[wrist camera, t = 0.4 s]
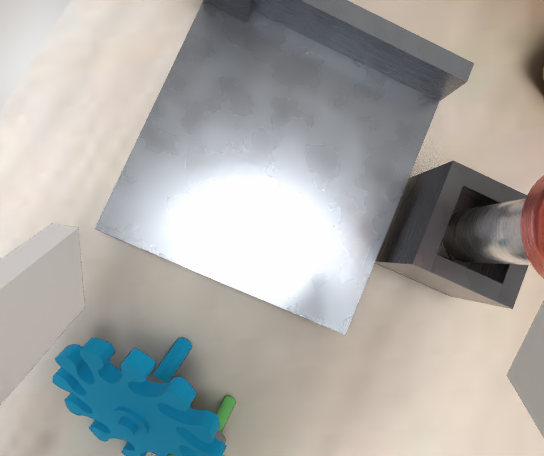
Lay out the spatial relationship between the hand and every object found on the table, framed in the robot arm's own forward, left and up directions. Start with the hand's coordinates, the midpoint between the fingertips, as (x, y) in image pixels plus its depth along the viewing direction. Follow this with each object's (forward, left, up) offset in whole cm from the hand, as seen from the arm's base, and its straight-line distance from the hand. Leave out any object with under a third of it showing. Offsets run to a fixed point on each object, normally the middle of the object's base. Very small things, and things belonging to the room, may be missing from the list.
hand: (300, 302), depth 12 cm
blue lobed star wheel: (-9, +3, -15) cm, 18 cm away
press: (+8, -1, -15) cm, 17 cm away
